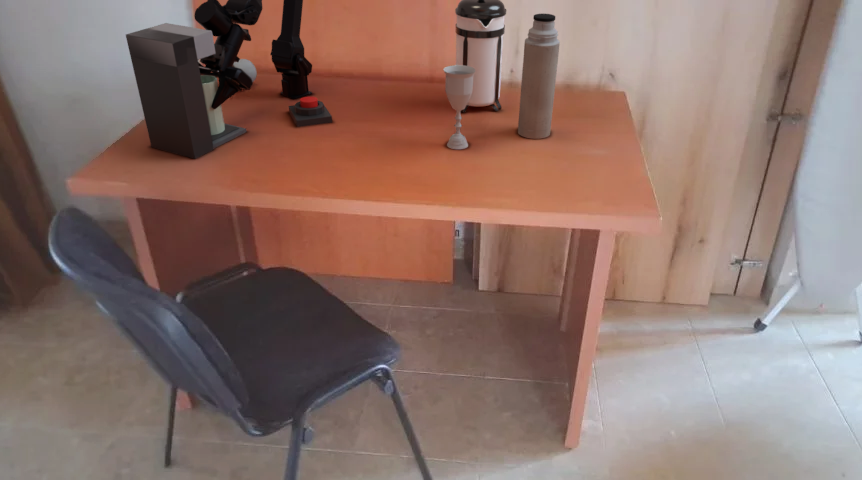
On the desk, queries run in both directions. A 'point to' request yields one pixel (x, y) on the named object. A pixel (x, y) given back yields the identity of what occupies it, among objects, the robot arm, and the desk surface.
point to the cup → (213, 114)
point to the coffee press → (481, 47)
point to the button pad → (310, 115)
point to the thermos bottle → (538, 78)
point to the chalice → (458, 98)
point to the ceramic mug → (246, 68)
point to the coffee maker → (175, 88)
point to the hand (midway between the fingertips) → (201, 105)
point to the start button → (308, 102)
